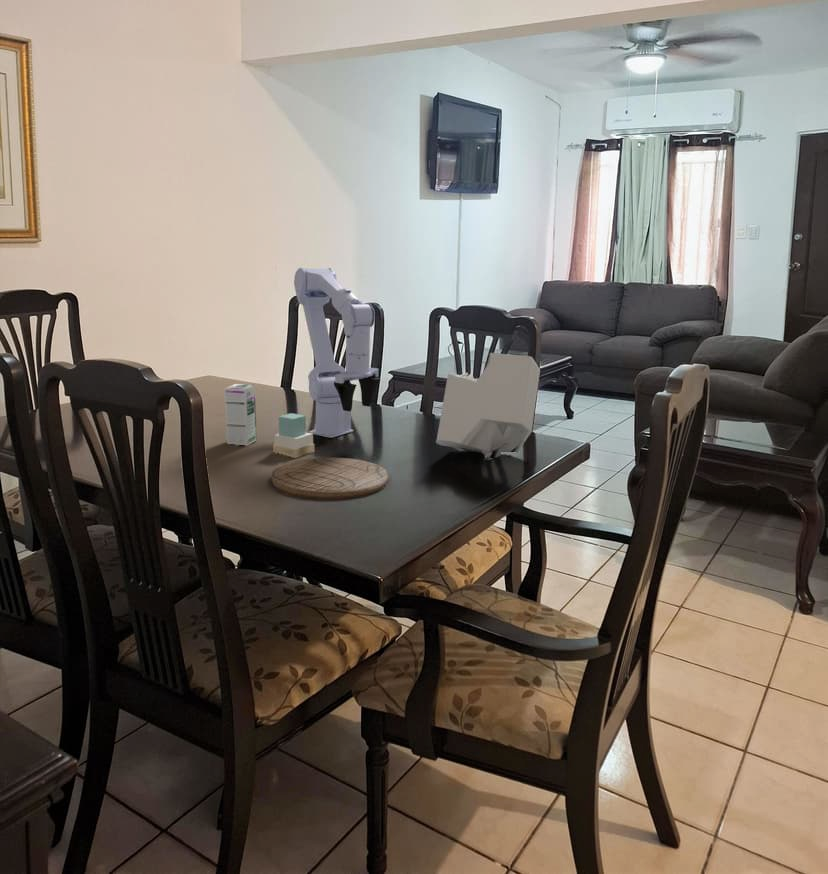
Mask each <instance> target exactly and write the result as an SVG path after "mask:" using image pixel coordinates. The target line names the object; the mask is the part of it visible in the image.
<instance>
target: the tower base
mask: <svg viewBox="0 0 828 874" xmlns="http://www.w3.org/2000/svg"><path fill="white" fill-rule="evenodd" d="M315 445H316V444H315V443H313V444H311V445H308V446H305V447H302V448H299V449H292V448H287V447H282V446H277V445H275V443H274V444H272V448H273V449H272V452H275V453H274V454H277V453H279V454H278V455H281V454H283V455H282V456H285V455H286V457H289V456H290V458H294V459H295V458H298V457H299V458H300V457H303V456H307V455H310V454H312V453H315V449H316V448H315Z"/></svg>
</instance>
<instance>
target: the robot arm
mask: <svg viewBox="0 0 828 874" xmlns="http://www.w3.org/2000/svg"><path fill="white" fill-rule="evenodd" d="M293 285H294V286H293V287H294V289H295V294H296V299H297V302H298V303H299V304H300V305H302V308H303V312H304V316H305V321H306V326H307V330H308V335H309V339H310V345H311V349H312V353H313V358H314V362H315V367H314V368H312V369H311V371H310V372H309V373H308V375H307V376H308V377H307V380H308V391H309V392H308V393H309V395H310V397H311V398H312V399H313V401H315V429H312V430H309V431H308V433H312V434H313V435H317V436H321V437H325V438H328V439H329V438H331V439H332V438H336V437H338V436H339V437H340V436H343V435H345V434H349V433H353V432H354V429H352V409H353V402H354V401H353V400H354V394H355V391H356V387H357V386H358V385H357V384H354V383H352V382H354V381H357V380H358V383H359V387H360V393H361V394H360V395H361V405H362V406H363V407H371V405H372V401H373V398H374V395H375V391H376V389H377V388H378V386H379V384H380V382H381V378H380V377H379V368H375V367H370V350H371V349H370V347H371V328H372V327H373V326H374V324H375V319H376V313H375V308H374V307H373V305H372V303H370V302H365V303H364V302H363V303H362V301H361V300H360V299H359V298H358V297H357V295H355V294H354V293H353V292H352V290H351V289H350V288H342V287H341V285H340V283H339V282H338V281H337V273H336V272H335V271H334V270H333V269H332V268H331V267H328V268H303V267H299V268H297V270H296V271H295V274H294V280H293ZM330 300H331V305H332V307H333V308H334V309H335V310H336V311H337V312H338V313H339V314H340V315H341V319H342V321H341V322H342V324H343V332H344V335H346V337H345V340H346V341H345V342H346V343H345V368H344V367H343V366H341V365H340V364H339V363H337V362H336V360H335V356H334V352H333V348H332V343H331V339H330V335H329V330H328V326H327V321H326V316H325V312H324V306H325V305H326V304H328V303H330Z"/></svg>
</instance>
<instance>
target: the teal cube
mask: <svg viewBox="0 0 828 874" xmlns="http://www.w3.org/2000/svg"><path fill="white" fill-rule="evenodd" d="M306 417H307V416H306V415H304V414H298V413H293V412H292V413H291V412H290V413H286V414H283V415H279V416H278V434H279V435H283V436H288V437H293V438H294V437H297V436H301V435H304V434H306V433H307V432H306V427H307V426H306V425H307V424H306V421H307V419H306Z"/></svg>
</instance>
